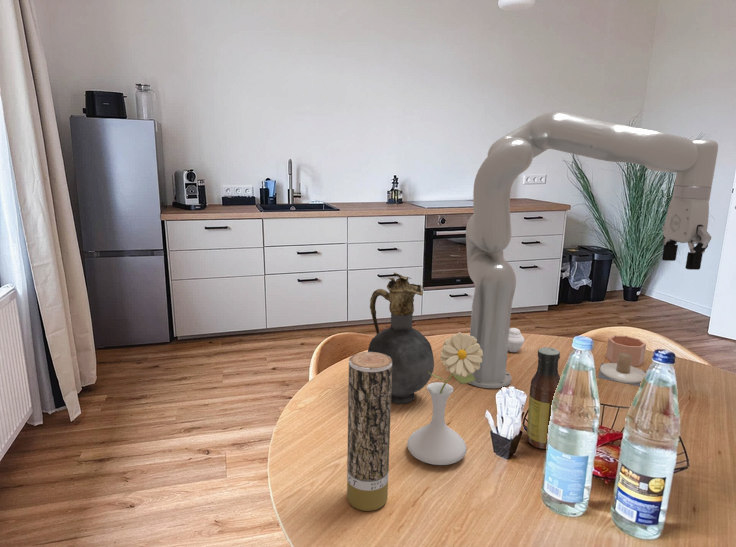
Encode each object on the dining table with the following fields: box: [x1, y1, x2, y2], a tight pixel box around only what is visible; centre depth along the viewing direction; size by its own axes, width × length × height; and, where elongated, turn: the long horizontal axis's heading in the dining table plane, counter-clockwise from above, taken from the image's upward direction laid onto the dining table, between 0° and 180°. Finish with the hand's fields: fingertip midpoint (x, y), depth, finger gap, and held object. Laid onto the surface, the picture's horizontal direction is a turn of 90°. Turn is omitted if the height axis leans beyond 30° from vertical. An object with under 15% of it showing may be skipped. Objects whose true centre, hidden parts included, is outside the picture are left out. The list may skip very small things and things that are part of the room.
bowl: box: [605, 335, 647, 367], centre depth 148 cm, size 9×9×6 cm
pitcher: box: [367, 271, 435, 405], centre depth 123 cm, size 11×19×30 cm, turn 37°
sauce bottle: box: [526, 346, 561, 450], centre depth 104 cm, size 6×6×20 cm
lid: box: [599, 353, 645, 385], centre depth 138 cm, size 11×11×6 cm
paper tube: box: [346, 351, 392, 512], centre depth 85 cm, size 7×7×25 cm
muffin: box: [507, 327, 525, 353], centre depth 154 cm, size 6×6×7 cm
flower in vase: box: [406, 331, 483, 466], centre depth 99 cm, size 13×11×25 cm
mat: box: [597, 362, 647, 387], centre depth 139 cm, size 11×11×1 cm
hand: (680, 264), depth 128 cm, fingers open, 9 cm apart
